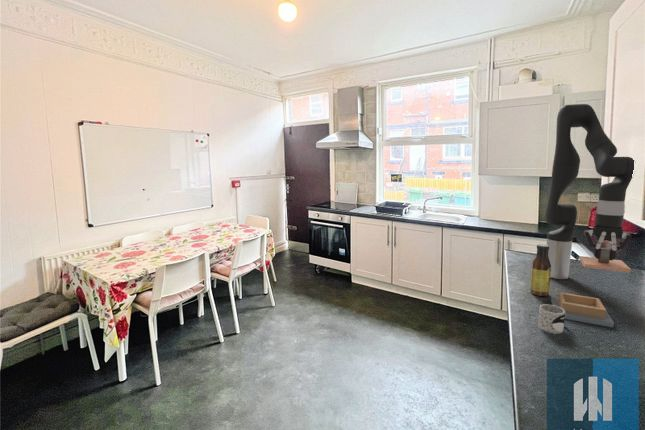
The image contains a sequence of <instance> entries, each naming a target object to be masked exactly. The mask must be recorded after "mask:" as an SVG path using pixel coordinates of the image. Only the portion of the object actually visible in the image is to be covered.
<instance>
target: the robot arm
mask: <svg viewBox="0 0 645 430" xmlns="http://www.w3.org/2000/svg"><path fill="white" fill-rule="evenodd" d="M596 113H597V112H595V110H594V108H593V107H592V106H591V105H590V104H587V103H579V104H577V103H576V104H572V103H571V104H565V105H562V106H561V107H560V108H559V110H558V113H557V117H556V132H555V134H556V139H555V148H554V156H553V157H554V158H553V163H552V169H551V170H552V171H551V180H550V188H549V194H548V199H547V204H546V208H545V215H544V216H545V217H544V218H545V222H546V223H547V224H548V225H559V226H561V227H560V228H558V229H554V230H551V231H548V233H547V234H546V235H547V236H546V237H547V238H546V245H548V246H549V250H548V257H549V260H550V264H551V276H550V279H555V280H557V279H558V280H567V279H568V278H569V273H570V272H569V271H570V264H571V263H570V262H571V254H572V247H573V246H572V245H573V239H574V235H575V227H576V222H577V218H578V217H577V216H578V209H577V207H576V205H574V204H571V203H569V204H566V203H559V200H560V198H561V197H562V195H563V193H564V192H565V191H566V189H567V188H569V186H570V185H572V183H573V182H574V181H575V180H576V179H577V178H578V175H579V172H580V171H579V170H580V165H581V159H580V155H579V153H578V151H577V149H576V147H575V146H574V144H573V141H572V138H571V130H572V129H573V128H583V130H585V131H586V135H585V140H584V145H585V148H586V149H587V151H588V152H589V154H590V155H591V156H592V158H593V162H594V167H595V171H596V172H597V174H599V176H601V177H606V178H613V179H612V181H611V182H608V183H604V184H602V185H600V188H599V194H598V202H597V205H596V213H595V221H594V226H593V227H592V229H590V230H584V231H583V234H584V236H585V239H586V242H587V244H588V246H589V247H591V248H594V249H593V250H594V251H593V256H594V258H596V259H599V257H600V248H601V246H602V244H603V242H605V241H608V242H609V245H610V247H609V248H610V249H611V253H610V260H616V255H617V253H616V252H617V251H619V250H622V251H623V249H624V248H626V246H627V245H628V243H629V242H630V240H632V238H633V235H631V234H630V233H627V232H624V230H623V221H624V218H625V217H624V215H625V211H626V210H625V208H626V205H625V200H626V194H627V189H628V187H629V185H630V183H631V181H632V179H633V177H632V174H633V170H634V161H635V159H634V158H632V157H630V156H616V155H617V153H618V148H617V146H616V145H615V144H614V143H613V142H612V140H611V139H610V138H609V136H608V135H607V134H606V132H605V131H604V129H603V127H602V125H601V122H600V120H599V118H598V115H597V114H596ZM633 159H634V160H633ZM593 234H594V235H595V237H596V239H595V243H594V241H593V240H592V239H593V238H592V236H593ZM620 237H621V238H622V239H621V240H620V242H619V243H618V244H617V239H618V238H620Z"/></svg>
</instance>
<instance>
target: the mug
mask: <svg viewBox="0 0 645 430" xmlns="http://www.w3.org/2000/svg"><path fill="white" fill-rule="evenodd" d="M538 310H539V311H538V319H537V328H539V329H540V330H541V331H543V332H546V333H548V334H554V335H560V334H563V333H564V327H565V320H566V319H565V310H564V309H563V308H560V307H558V306H554V305H552V304H540V306H539V309H538Z"/></svg>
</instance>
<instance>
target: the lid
mask: <svg viewBox="0 0 645 430" xmlns="http://www.w3.org/2000/svg"><path fill="white" fill-rule="evenodd" d="M610 253H611V248H607V247H600V257H599V259H596V257H592V256H581V255H579V256H578V260H579V261H580V262H581V264H582V265H583V267H584V268H588V269H598V270H607V271H615V272H622V273H631V272H632V271H631V270H632V269H631V268H630V267H629V266H628V265H627V264H626V263H625V262H624V261H622V260H621V259H613V260H610Z"/></svg>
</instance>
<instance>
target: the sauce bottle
mask: <svg viewBox="0 0 645 430" xmlns="http://www.w3.org/2000/svg"><path fill="white" fill-rule="evenodd" d="M548 250H549V246H548V245H547V244H542V243H541V244H536V256H535V257H534V259H533V261H532V266H531V275H530V276H531V277H530V278H531V279H530V293H531V294H533V295H535V296H539V297H547V296H549V292H550V285H551V277H550V276H551V264H550V260H549V257H548Z"/></svg>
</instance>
